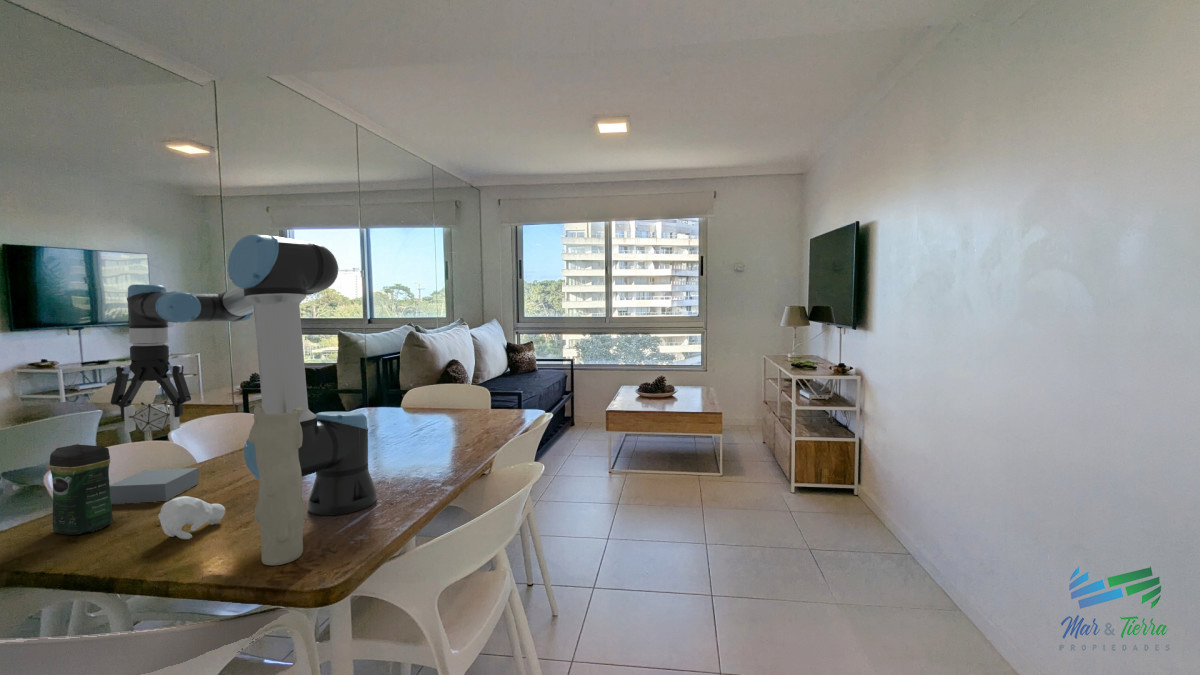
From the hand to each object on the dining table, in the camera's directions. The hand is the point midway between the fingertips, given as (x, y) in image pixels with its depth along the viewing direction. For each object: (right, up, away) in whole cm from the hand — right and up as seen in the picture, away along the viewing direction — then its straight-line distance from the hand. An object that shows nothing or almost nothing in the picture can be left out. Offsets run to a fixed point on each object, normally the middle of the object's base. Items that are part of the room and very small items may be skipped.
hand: (153, 430), depth 131 cm
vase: (+55, -19, -33) cm, 67 cm away
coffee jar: (+3, -18, -20) cm, 27 cm away
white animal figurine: (+29, -18, -21) cm, 40 cm away
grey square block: (0, -17, +1) cm, 17 cm away
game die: (0, -1, 0) cm, 1 cm away
